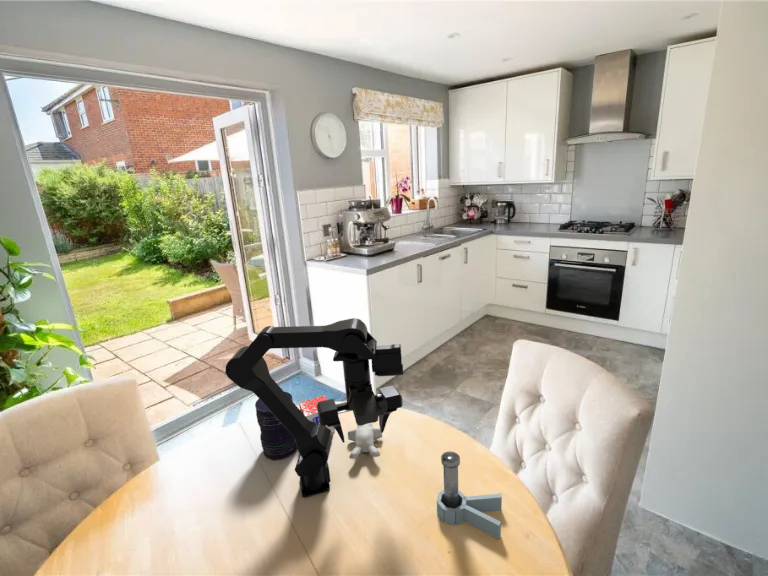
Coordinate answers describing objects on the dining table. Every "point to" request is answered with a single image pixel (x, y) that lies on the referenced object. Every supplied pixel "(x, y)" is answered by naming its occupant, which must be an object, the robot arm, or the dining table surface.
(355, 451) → the grey figurine
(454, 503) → the hinge pin
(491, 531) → the grey ring with prongs
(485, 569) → the dining table surface
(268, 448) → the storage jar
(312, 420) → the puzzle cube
